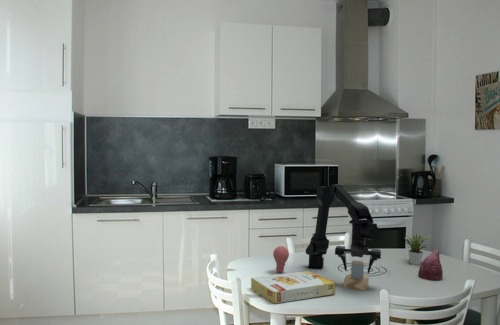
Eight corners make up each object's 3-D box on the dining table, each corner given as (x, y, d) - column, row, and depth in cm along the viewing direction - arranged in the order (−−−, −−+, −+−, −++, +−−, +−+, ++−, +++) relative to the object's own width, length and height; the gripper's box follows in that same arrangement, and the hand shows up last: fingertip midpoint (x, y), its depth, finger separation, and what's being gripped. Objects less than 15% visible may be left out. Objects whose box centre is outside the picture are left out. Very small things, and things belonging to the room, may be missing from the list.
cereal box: (336, 281, 192) (274, 290, 179) (336, 295, 192) (274, 305, 179) (307, 269, 210) (250, 276, 197) (307, 282, 210) (249, 289, 197)
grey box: (350, 278, 203) (351, 263, 202) (351, 275, 208) (351, 260, 207) (363, 279, 202) (363, 264, 201) (363, 276, 207) (363, 260, 206)
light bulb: (290, 271, 223) (291, 245, 223) (284, 275, 217) (285, 249, 216) (276, 269, 226) (276, 243, 226) (270, 273, 220) (271, 247, 219)
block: (343, 288, 202) (344, 279, 202) (347, 282, 210) (347, 273, 210) (365, 291, 199) (366, 281, 199) (368, 285, 207) (368, 276, 207)
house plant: (429, 260, 250) (431, 229, 249) (435, 268, 236) (436, 235, 235) (401, 258, 253) (402, 227, 252) (404, 265, 239) (406, 233, 238)
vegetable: (439, 282, 223) (450, 252, 223) (441, 286, 214) (451, 254, 213) (416, 274, 227) (426, 244, 227) (417, 277, 217) (427, 245, 217)
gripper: (334, 237, 198) (332, 275, 199) (381, 241, 193) (379, 280, 194) (336, 232, 209) (335, 268, 210) (381, 236, 204) (379, 272, 205)
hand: (357, 272), depth 204 cm, fingers open, 9 cm apart
